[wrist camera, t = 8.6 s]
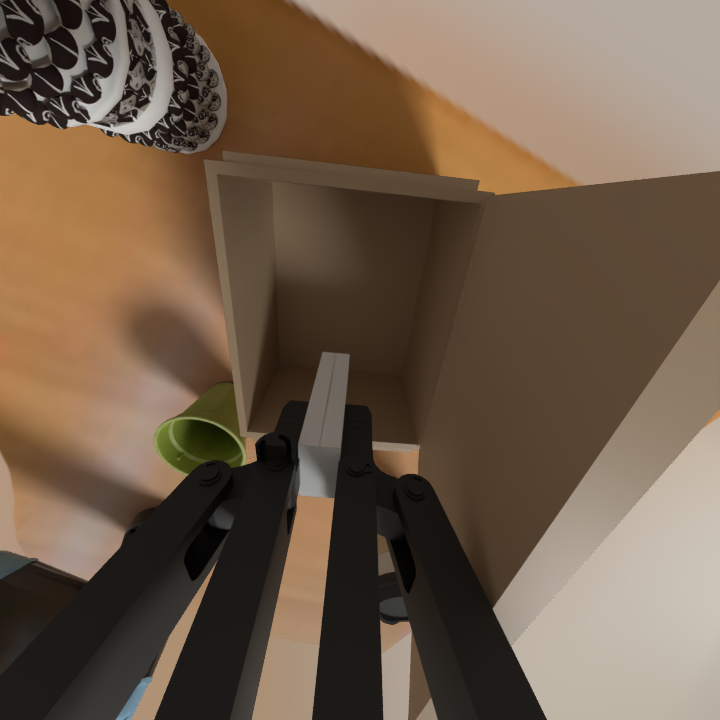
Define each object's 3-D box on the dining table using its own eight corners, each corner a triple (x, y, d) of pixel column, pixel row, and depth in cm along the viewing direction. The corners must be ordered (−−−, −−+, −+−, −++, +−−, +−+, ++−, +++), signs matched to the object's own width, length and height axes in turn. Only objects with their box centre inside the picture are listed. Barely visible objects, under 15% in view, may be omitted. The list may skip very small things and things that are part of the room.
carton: (275, 369, 36) (241, 440, 26) (266, 166, 26) (202, 147, 16) (404, 380, 37) (421, 454, 26) (444, 187, 27) (498, 182, 16)
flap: (407, 731, 12) (429, 738, 12) (800, 162, 3) (926, 173, 2) (418, 450, 26) (429, 452, 26) (487, 195, 16) (504, 197, 16)
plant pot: (271, 429, 41) (251, 482, 33) (203, 427, 41) (167, 480, 33) (263, 371, 36) (237, 418, 29) (186, 369, 36) (140, 415, 29)
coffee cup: (388, 474, 45) (399, 587, 32) (431, 497, 48) (457, 611, 35) (353, 504, 49) (350, 617, 36) (395, 524, 52) (407, 636, 38)
